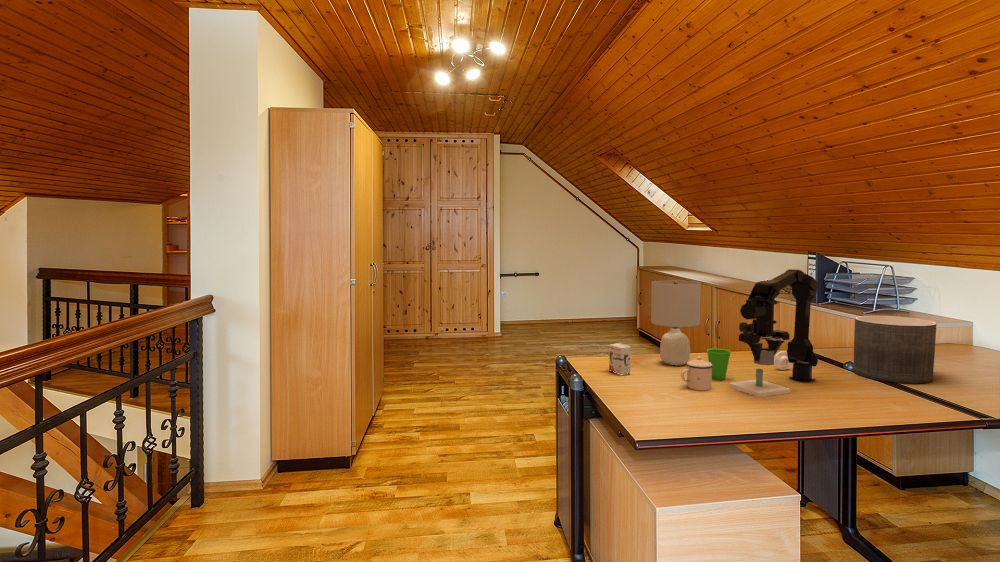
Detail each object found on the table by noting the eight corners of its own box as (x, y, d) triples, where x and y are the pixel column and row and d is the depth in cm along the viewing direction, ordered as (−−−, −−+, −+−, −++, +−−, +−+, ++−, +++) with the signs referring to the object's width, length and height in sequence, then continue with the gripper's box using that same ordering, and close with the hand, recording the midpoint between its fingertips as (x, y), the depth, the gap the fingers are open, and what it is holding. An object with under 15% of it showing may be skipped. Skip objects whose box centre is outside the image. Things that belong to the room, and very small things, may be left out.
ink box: (608, 371, 216) (608, 343, 215) (617, 370, 218) (617, 342, 218) (621, 376, 209) (621, 347, 208) (631, 374, 211) (631, 346, 210)
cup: (733, 381, 198) (733, 353, 197) (708, 380, 200) (708, 353, 199) (727, 375, 207) (728, 348, 206) (703, 374, 209) (704, 348, 208)
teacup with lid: (702, 383, 197) (702, 353, 196) (717, 389, 188) (718, 358, 187) (674, 385, 194) (674, 355, 193) (688, 392, 185) (689, 360, 184)
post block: (758, 382, 196) (758, 363, 195) (790, 392, 183) (790, 372, 182) (729, 386, 191) (729, 367, 191) (759, 397, 178) (760, 376, 178)
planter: (943, 377, 201) (946, 321, 199) (919, 388, 186) (922, 328, 184) (867, 364, 221) (870, 313, 220) (841, 374, 207) (843, 319, 205)
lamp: (654, 368, 219) (654, 282, 217) (648, 358, 239) (649, 279, 236) (704, 370, 216) (705, 282, 213) (694, 359, 236) (695, 279, 233)
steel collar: (762, 360, 190) (763, 346, 189) (777, 364, 184) (778, 350, 183) (749, 361, 187) (750, 348, 187) (764, 365, 181) (764, 351, 181)
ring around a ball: (776, 371, 212) (777, 352, 212) (767, 368, 218) (768, 349, 217) (794, 370, 214) (794, 351, 213) (784, 367, 219) (785, 348, 219)
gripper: (765, 312, 195) (764, 353, 196) (727, 315, 188) (726, 357, 190) (791, 316, 185) (789, 359, 186) (752, 320, 178) (750, 364, 179)
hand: (763, 360), depth 185 cm, fingers closed on steel collar, 6 cm apart
